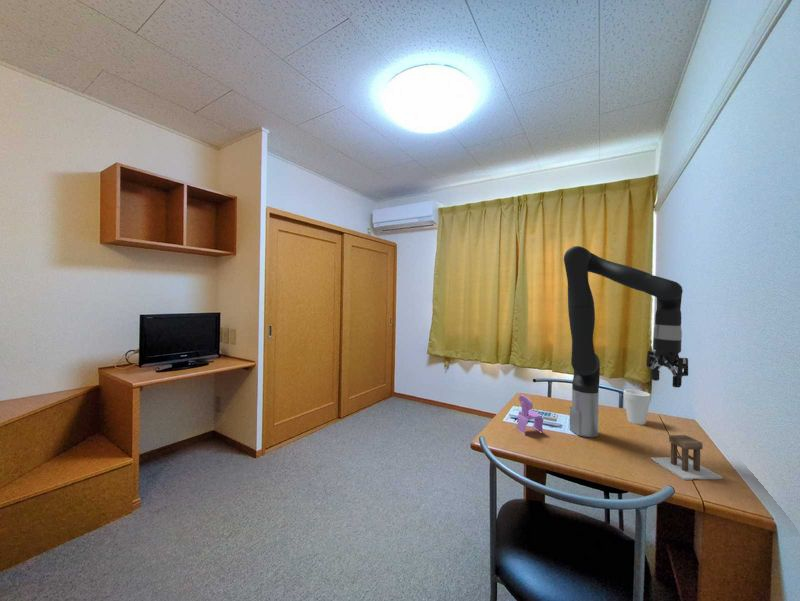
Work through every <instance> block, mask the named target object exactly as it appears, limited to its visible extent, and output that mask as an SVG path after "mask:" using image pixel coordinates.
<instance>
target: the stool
mask: <svg viewBox="0 0 800 601" xmlns="http://www.w3.org/2000/svg"><path fill="white" fill-rule="evenodd" d="M668 442H669V443H670V457H671V464H673V465H677V458H678V459H680V460H682V470H683V471H688V461H689V460H691V461H693V469H694V470H696V471H700V465H701V450H703V442H701V441H699V440H697V439H695V438H693V437H691V436H688V435H686V434H677V435H676V434H675V435H674V434H671V435H670V434H669V435H668ZM678 447H679V448H681V456H680V455H678ZM689 450H693V451H692V453H693V456H692V455H689V453H690V452H689Z"/></svg>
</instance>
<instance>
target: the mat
mask: <svg viewBox="0 0 800 601" xmlns="http://www.w3.org/2000/svg"><path fill="white" fill-rule="evenodd" d="M651 459H652V460H653V461H652V460H651ZM650 460H651V461H652V462H654V461H655V462H654V463H656V464H657V463H658V464H657V465H658V466H661V467H662V468H663V469H666V470H667V471H669V472H670V473H673V474H674V475H676V476H678V477H679V478H681V479H682V480H684V481H687V480H688V481H689V480H690V481H692V480H693V479H699V480H701V481H702V480H723V476H721V475H720V474H718V473H716V472H713V471H711V469H708V468H706V467H704V466H702V465H701V464H700V471H696V470H694V469H693V460H692V459H689V461H688V471H683V470H682V460H680V459H678V458H677V465H673V464H671V456H670V457H666V456H665V457H664V456H663V457H662V456H661V457H650ZM693 481H694V480H693Z"/></svg>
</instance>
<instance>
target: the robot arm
mask: <svg viewBox="0 0 800 601" xmlns="http://www.w3.org/2000/svg"><path fill="white" fill-rule="evenodd" d="M563 262H564V269H565V273H566V278H567V279H566V280H567V311H568V322H569V329H570V334H571V359H570V363H571V366H572V369H573V377H572V383H571V385H572V386H571V387H572V388H571V392H572V393H571V394H572V395H571V406H570V407H569V431H571V432H572V431H573V432H572V433H574V434H575V433H576V434H575V435H577V436H578V435H579V437H586V438H596V437H598V436H599V399H600V397H599V395H600V394H599V393H600V392H599V391H600V390H599V388H600V374H601V373H600V371H601V368H600V366H601V364H600V363H601V362H600V359H599V356H598V355H597V353H596V352H595V348H594V346H595V345H594V334H595V333H594V332H595V324H596V311H595V308H596V307H595V301H594V297H593V292H592V289H591V287H590V283H589V273H592V274H596V275H599V276H602V277H604V278H606V279H608V280H611V281H613V282H615V283H617V284H620V285H623V286H624V287H627V288H630V289H633V290H635V291H639V292H644V293H646V294H648V295H650V296H653V297H654V298H656V310H655V317H654V318H655V319H654V329H653V340H652V341H653V344H652V348H653V350H648V351H647V355H646V365H645V366H646V367H647V368H650V370H651V376H650V377H651V380H652V381H655V382H656V381H657V382H659V380H660V373H661V372H660V371H661V370H660V369H661V368H662V367H665V368H667V369H668V370H669V371H670V372H671V373H672V384H671V385H672V387H673V388H681V387H682V378H683V377H688V376H689V358H688V357H680V356H679V354H680V353H681V352H682V337H683V336H682V335H683V334H682V333H683V332H682V310H681V308H682V307H681V306H682V298H683V293H684V292H683V287H682V286H681V284H680V283H678V282H677V281H674V280H671V279H668V278H665V277H661V276H658V275H657V276H656V275H653V274H651V273H649V272H647V271H644V270H640V269H637V268H634V267H632V266H629V265H624V264H621V263H617V262H613V261H609V260H607V259H605V258H602V257H599V255H596V254H595V253H592V252H590V250H588V249H587V248H585V247H583V246H579V245H577V246H576V245H575V246H572V247H570V248H568V249H567V251H566V252H565V253H564V255H563Z"/></svg>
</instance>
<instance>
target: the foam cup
mask: <svg viewBox="0 0 800 601" xmlns="http://www.w3.org/2000/svg"><path fill="white" fill-rule="evenodd" d="M623 398H624V399H623V400H624V405H625V411H626V419H627V421H628V422H629V423H631V424H633V425H638V424H639V426H640V425H641V426H643V424H645V423H646V424H647V420H648V419H647V418H648V413H649V406H650V401H651V398H652V397H651V393H649V392H647V391H643V390H638V389H629V388H628V389H624V390H623ZM646 424H645V425H646Z"/></svg>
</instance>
